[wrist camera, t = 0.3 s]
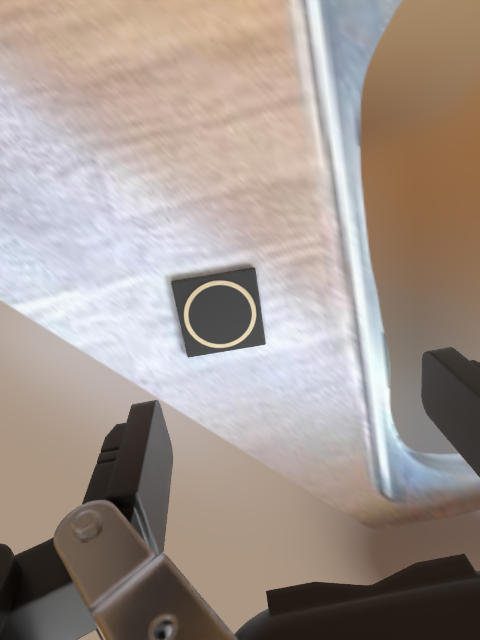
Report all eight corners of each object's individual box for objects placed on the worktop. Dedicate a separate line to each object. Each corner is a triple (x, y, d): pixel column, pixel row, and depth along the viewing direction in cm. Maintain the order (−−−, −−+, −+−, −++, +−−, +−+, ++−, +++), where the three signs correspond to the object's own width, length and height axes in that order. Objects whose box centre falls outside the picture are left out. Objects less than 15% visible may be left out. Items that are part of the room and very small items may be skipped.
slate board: (171, 281, 36) (171, 283, 36) (254, 267, 36) (255, 269, 36) (188, 355, 39) (187, 358, 38) (265, 342, 39) (265, 345, 39)
